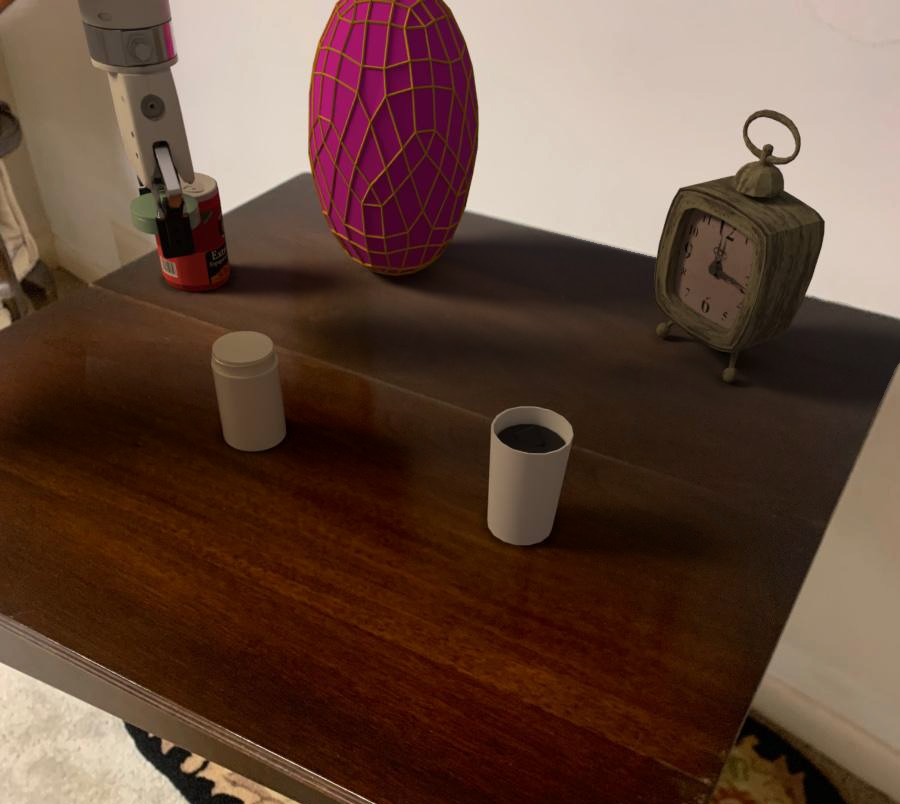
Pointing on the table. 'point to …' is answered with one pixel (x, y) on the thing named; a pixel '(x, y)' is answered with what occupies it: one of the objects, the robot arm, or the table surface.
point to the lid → (146, 212)
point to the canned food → (201, 243)
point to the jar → (248, 390)
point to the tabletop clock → (737, 254)
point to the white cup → (526, 472)
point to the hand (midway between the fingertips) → (170, 238)
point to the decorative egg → (392, 130)
